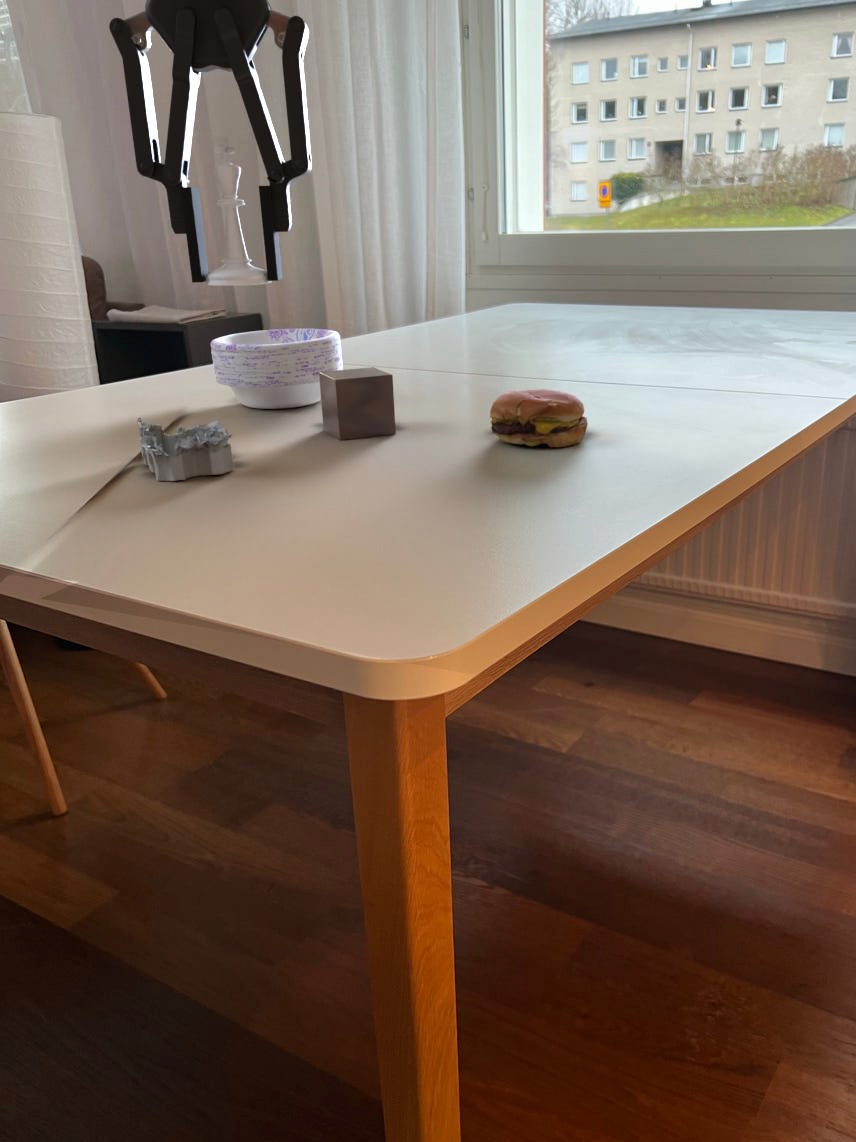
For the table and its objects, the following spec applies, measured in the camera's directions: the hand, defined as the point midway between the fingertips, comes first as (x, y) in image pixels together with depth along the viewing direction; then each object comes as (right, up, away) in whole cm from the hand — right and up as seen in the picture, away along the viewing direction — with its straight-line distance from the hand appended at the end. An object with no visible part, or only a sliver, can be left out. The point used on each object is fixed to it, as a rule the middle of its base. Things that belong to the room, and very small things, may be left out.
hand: (238, 279), depth 76 cm
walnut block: (+6, -6, +28) cm, 29 cm away
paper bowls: (-5, +1, +45) cm, 45 cm away
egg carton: (-8, -12, +15) cm, 21 cm away
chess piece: (0, 0, 0) cm, 0 cm away
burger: (+24, -8, +23) cm, 34 cm away
